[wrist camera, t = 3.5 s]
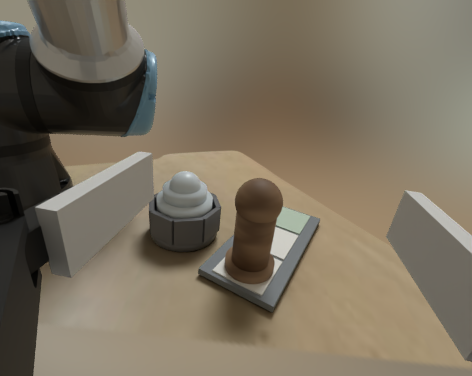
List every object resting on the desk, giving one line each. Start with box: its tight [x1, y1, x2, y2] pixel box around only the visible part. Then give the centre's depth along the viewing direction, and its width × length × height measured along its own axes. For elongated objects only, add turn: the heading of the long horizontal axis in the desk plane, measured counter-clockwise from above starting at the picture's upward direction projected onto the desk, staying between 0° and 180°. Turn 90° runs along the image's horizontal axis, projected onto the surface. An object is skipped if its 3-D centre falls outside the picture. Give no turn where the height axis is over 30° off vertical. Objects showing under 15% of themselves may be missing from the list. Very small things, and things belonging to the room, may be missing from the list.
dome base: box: [149, 193, 221, 252], centre depth 35 cm, size 9×9×4 cm
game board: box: [198, 207, 320, 312], centre depth 35 cm, size 9×20×1 cm, turn 150°
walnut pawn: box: [225, 178, 283, 284], centre depth 27 cm, size 6×6×11 cm
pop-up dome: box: [156, 171, 213, 219], centre depth 34 cm, size 7×7×6 cm
